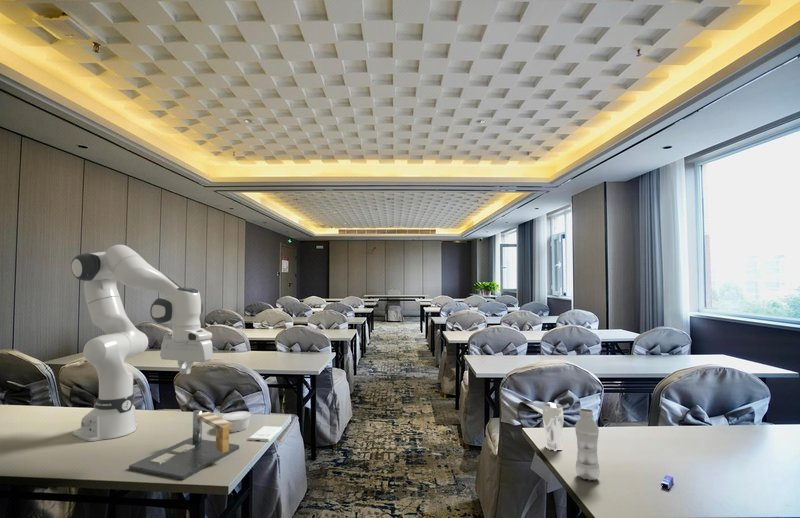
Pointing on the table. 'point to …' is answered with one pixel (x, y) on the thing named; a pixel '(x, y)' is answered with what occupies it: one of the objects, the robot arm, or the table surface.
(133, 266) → the robot arm
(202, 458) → the base plate
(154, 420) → the table surface
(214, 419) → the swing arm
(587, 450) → the plastic bottle
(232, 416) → the ramekin
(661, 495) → the table surface
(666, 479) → the eraser
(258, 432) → the external hard drive
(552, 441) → the beer glass
